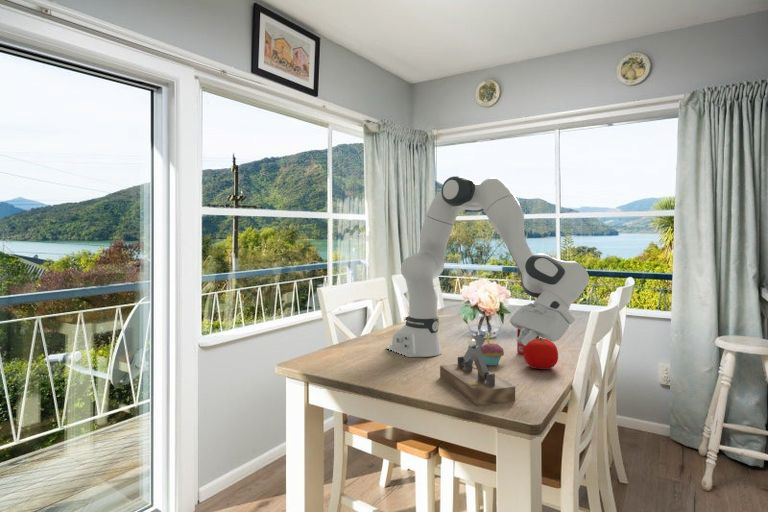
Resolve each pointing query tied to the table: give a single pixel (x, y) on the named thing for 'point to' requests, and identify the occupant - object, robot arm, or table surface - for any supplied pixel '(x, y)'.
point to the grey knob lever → (479, 342)
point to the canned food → (520, 346)
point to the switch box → (477, 383)
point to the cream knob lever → (478, 359)
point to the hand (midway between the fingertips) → (520, 343)
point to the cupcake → (491, 353)
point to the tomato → (540, 353)
